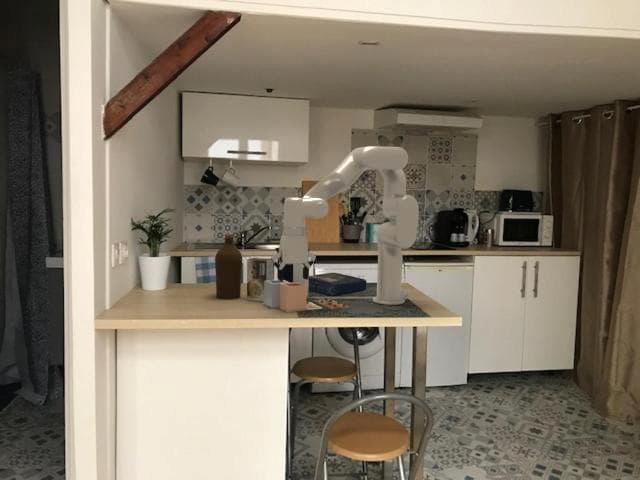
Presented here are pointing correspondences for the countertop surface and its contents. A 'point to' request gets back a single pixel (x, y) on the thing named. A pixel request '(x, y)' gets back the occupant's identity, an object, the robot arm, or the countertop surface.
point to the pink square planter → (292, 297)
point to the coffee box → (258, 277)
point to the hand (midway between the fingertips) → (293, 279)
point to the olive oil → (228, 270)
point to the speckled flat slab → (330, 304)
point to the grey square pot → (272, 292)
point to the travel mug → (300, 274)
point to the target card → (312, 306)
